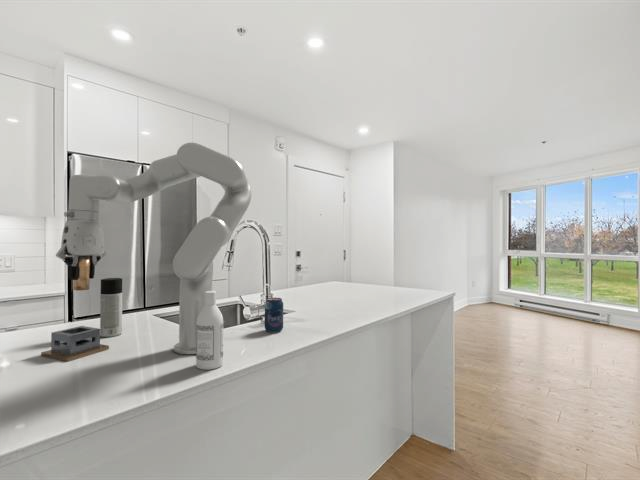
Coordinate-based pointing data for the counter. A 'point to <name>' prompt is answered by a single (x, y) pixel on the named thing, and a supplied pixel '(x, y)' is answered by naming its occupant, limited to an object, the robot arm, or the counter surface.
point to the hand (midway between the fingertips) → (81, 278)
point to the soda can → (273, 315)
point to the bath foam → (209, 334)
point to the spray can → (111, 307)
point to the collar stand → (74, 343)
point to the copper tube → (82, 273)
